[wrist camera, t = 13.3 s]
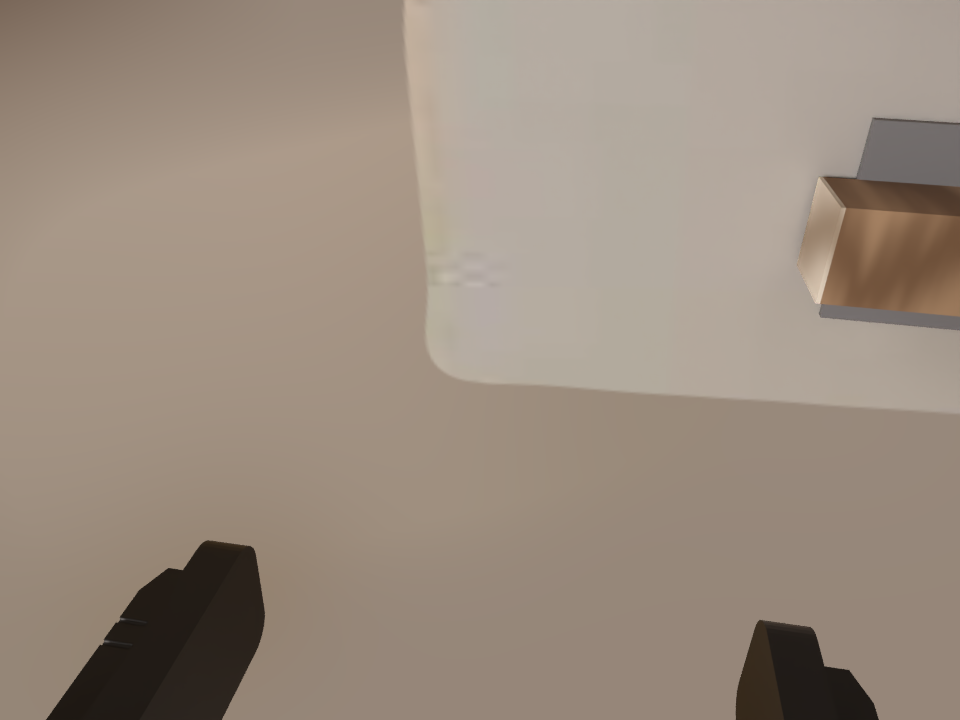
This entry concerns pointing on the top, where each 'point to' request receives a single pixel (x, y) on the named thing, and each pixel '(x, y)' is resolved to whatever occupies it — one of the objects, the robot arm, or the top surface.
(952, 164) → the mat
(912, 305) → the block
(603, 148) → the top surface
